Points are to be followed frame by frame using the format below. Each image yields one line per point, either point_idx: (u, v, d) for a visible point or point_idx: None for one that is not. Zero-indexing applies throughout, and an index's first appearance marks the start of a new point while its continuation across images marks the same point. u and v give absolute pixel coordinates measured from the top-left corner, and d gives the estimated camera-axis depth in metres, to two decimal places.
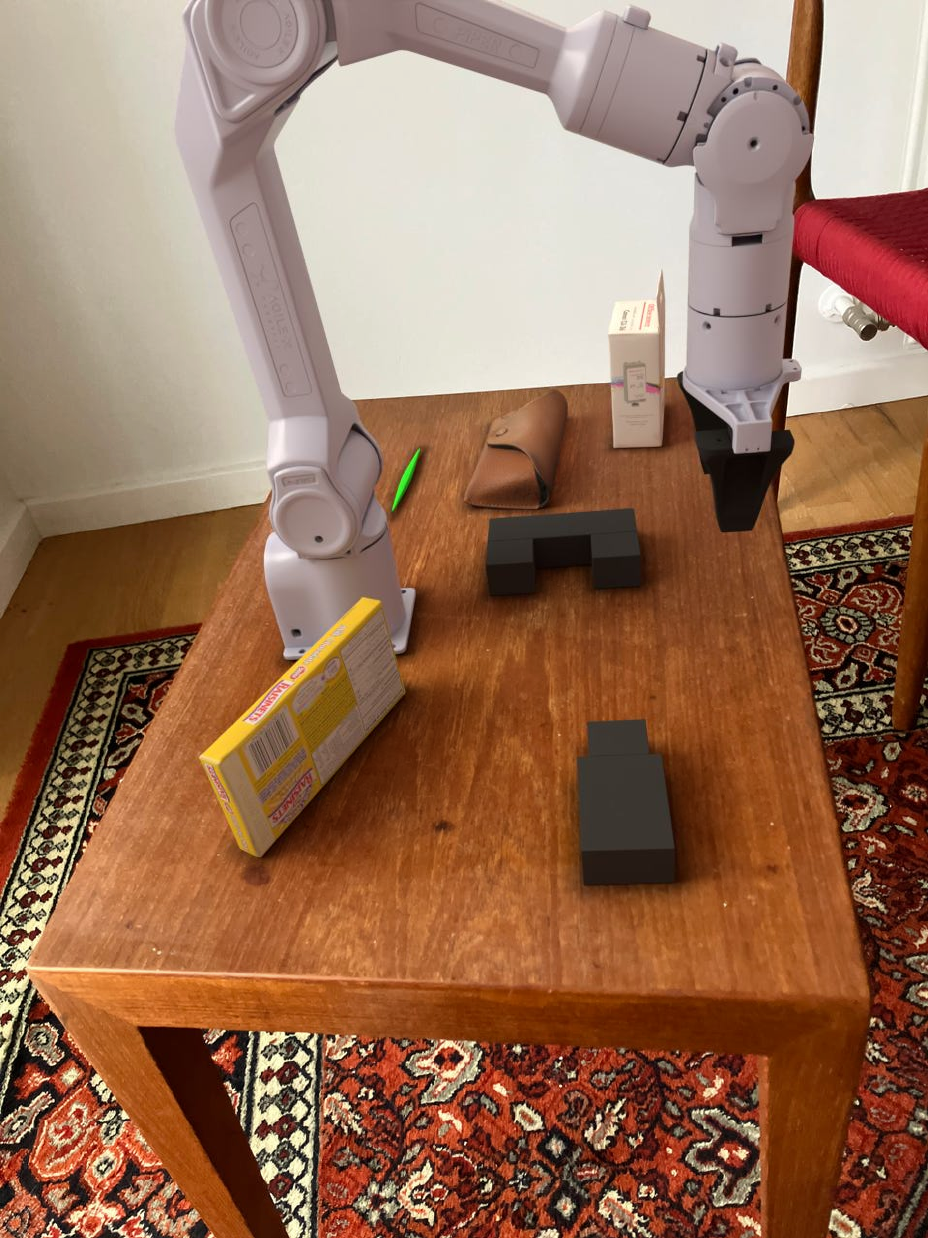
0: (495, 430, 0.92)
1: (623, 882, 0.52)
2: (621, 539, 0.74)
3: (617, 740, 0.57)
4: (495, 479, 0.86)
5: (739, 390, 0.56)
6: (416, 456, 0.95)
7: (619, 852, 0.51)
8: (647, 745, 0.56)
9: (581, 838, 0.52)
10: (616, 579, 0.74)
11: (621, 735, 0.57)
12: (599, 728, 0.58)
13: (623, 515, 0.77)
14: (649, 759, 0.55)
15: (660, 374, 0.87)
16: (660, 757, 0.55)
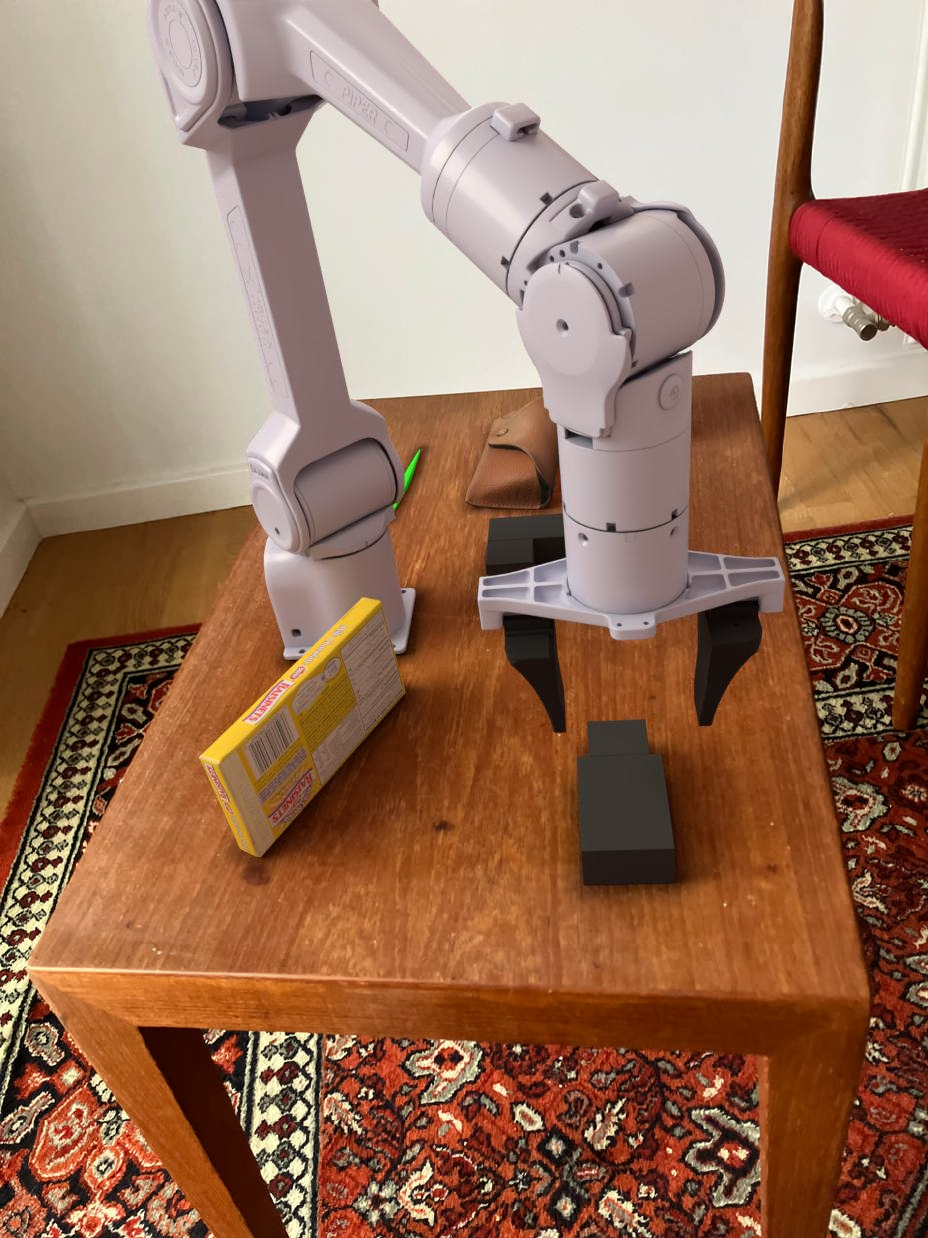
0: (496, 430, 0.92)
1: (623, 882, 0.52)
2: None
3: (617, 740, 0.57)
4: (496, 479, 0.86)
5: (565, 580, 0.46)
6: (416, 457, 0.95)
7: (619, 852, 0.51)
8: (647, 745, 0.56)
9: (581, 838, 0.52)
10: None
11: (621, 735, 0.57)
12: (599, 728, 0.58)
13: None
14: (649, 759, 0.55)
15: None
16: (660, 757, 0.55)
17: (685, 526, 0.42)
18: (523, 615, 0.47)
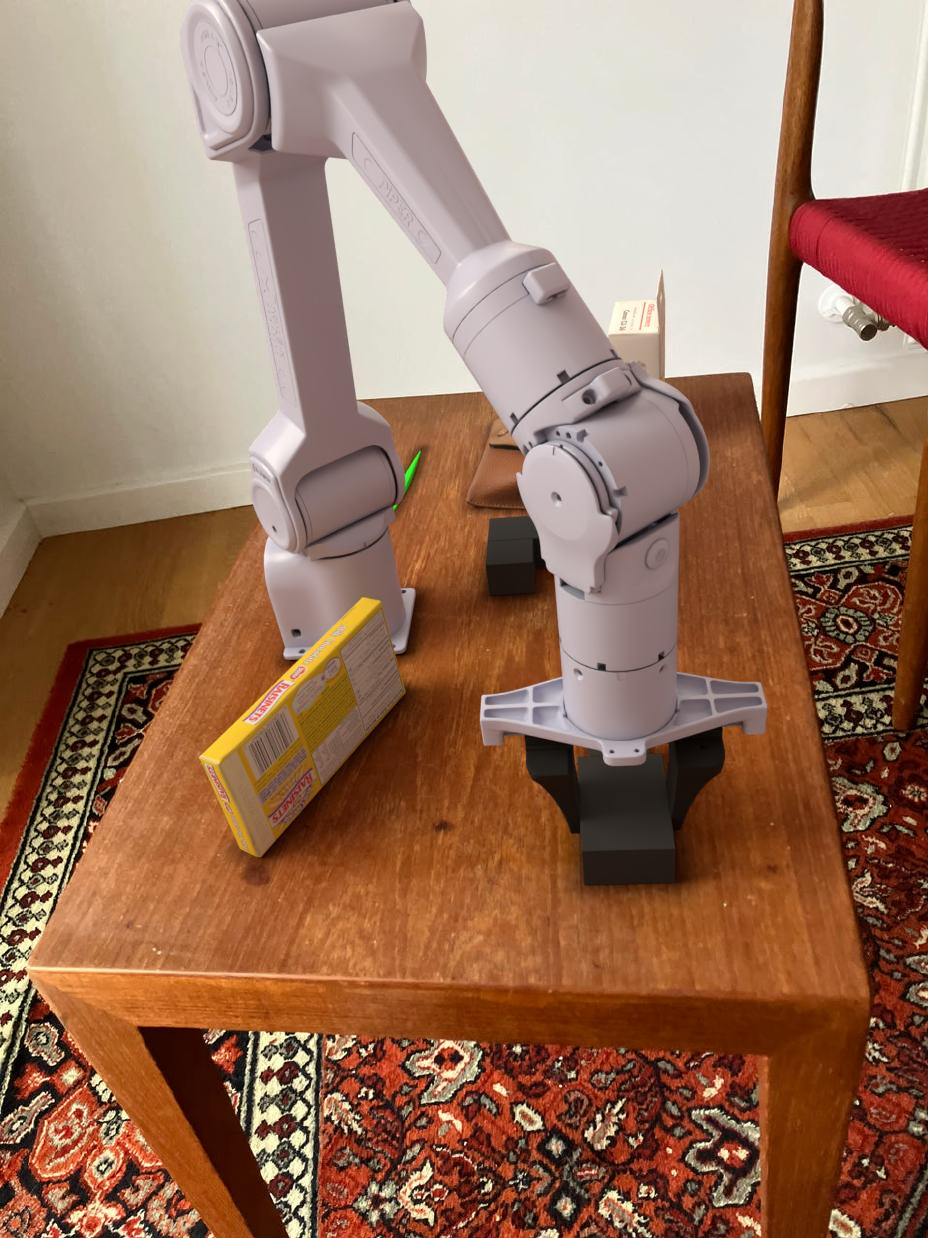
0: (496, 430, 0.92)
1: (624, 882, 0.52)
2: None
3: None
4: (497, 479, 0.86)
5: (562, 701, 0.49)
6: (416, 459, 0.96)
7: (620, 852, 0.51)
8: None
9: (582, 838, 0.52)
10: None
11: None
12: None
13: None
14: (650, 759, 0.55)
15: (660, 374, 0.87)
16: (661, 757, 0.55)
17: (673, 662, 0.45)
18: None
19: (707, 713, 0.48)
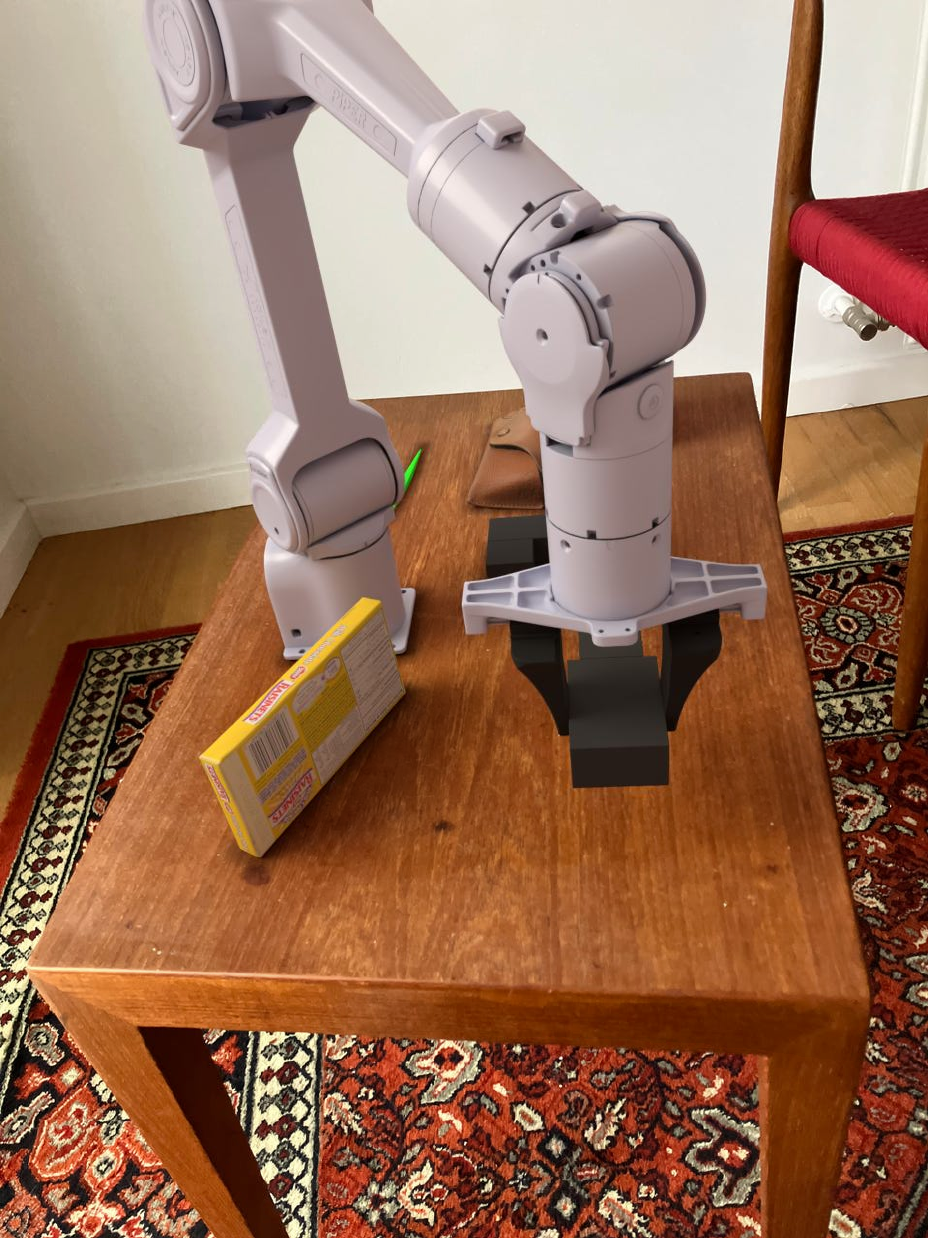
0: (497, 430, 0.92)
1: (615, 784, 0.49)
2: None
3: None
4: (498, 479, 0.86)
5: (549, 586, 0.46)
6: (417, 457, 0.95)
7: (610, 749, 0.48)
8: (641, 648, 0.54)
9: (570, 736, 0.49)
10: None
11: None
12: None
13: None
14: (643, 661, 0.53)
15: None
16: (655, 659, 0.53)
17: (667, 533, 0.42)
18: None
19: (703, 595, 0.45)
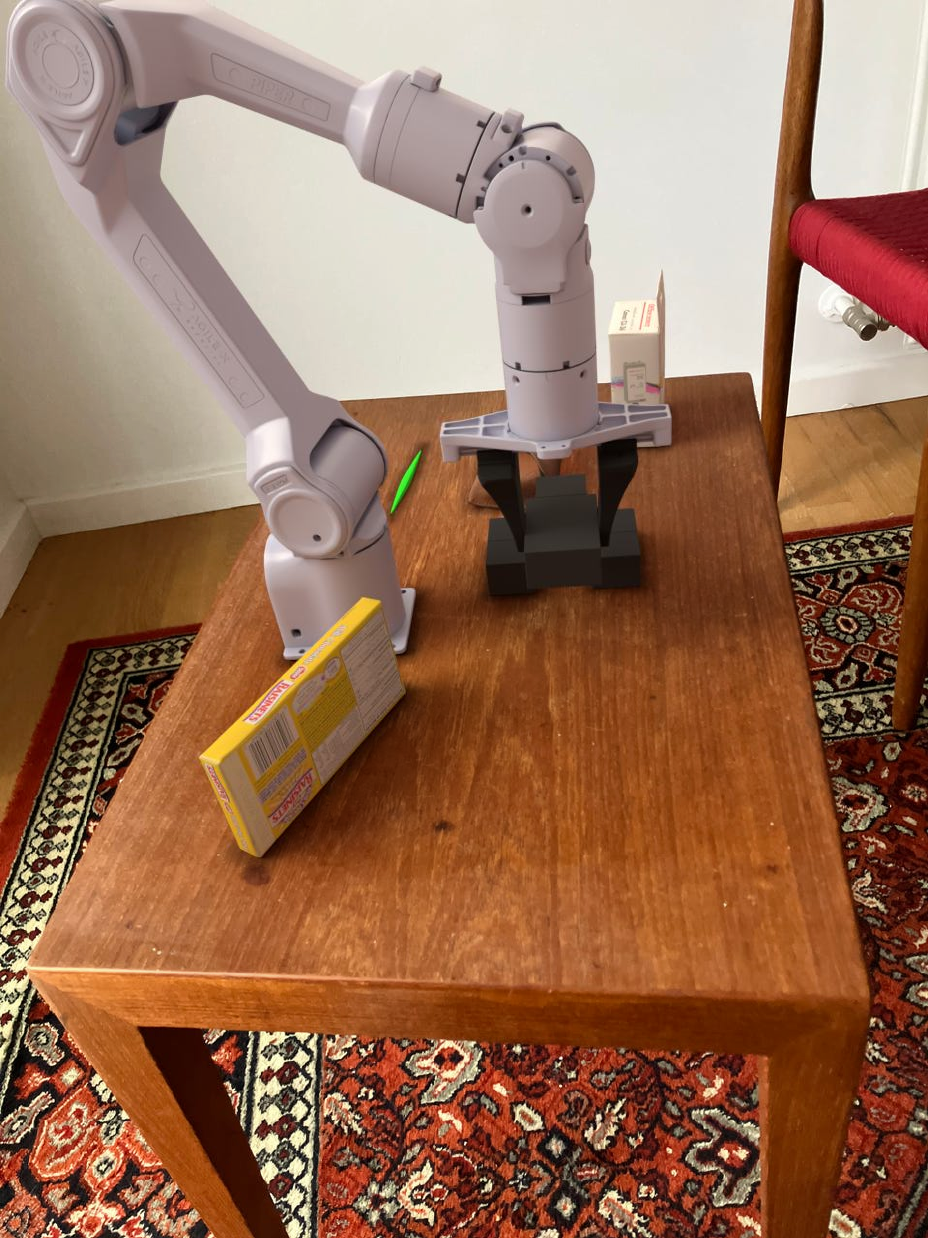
0: None
1: (560, 585, 0.63)
2: (621, 539, 0.74)
3: (559, 487, 0.68)
4: None
5: (506, 422, 0.60)
6: (417, 458, 0.96)
7: (555, 553, 0.62)
8: (585, 488, 0.67)
9: (525, 545, 0.63)
10: (616, 579, 0.74)
11: (564, 483, 0.68)
12: (546, 480, 0.69)
13: (623, 515, 0.77)
14: (585, 497, 0.66)
15: (660, 374, 0.87)
16: (594, 495, 0.66)
17: (592, 372, 0.56)
18: (492, 449, 0.61)
19: None
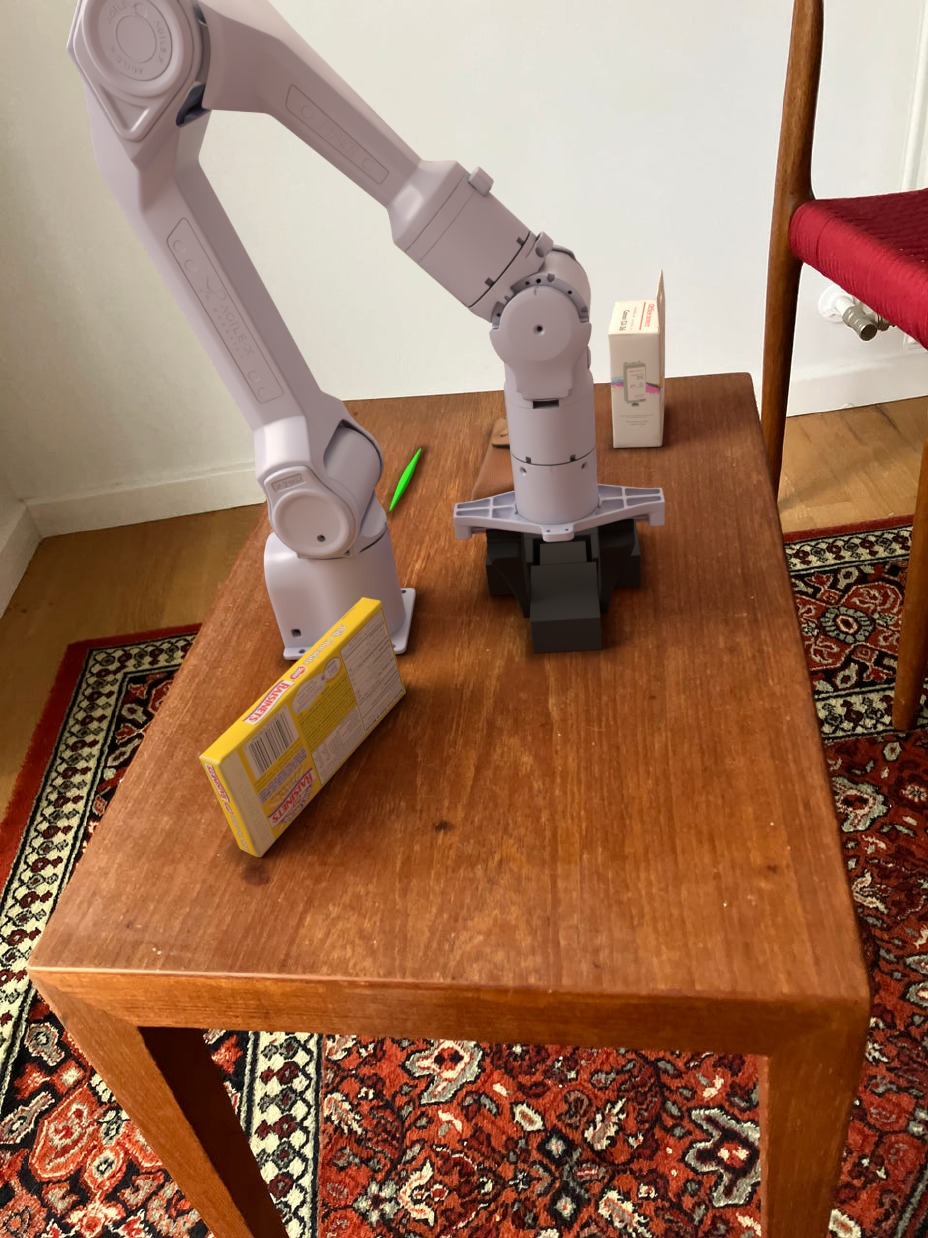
0: (499, 430, 0.92)
1: (563, 649, 0.69)
2: None
3: (562, 555, 0.74)
4: (501, 479, 0.86)
5: (514, 504, 0.66)
6: (417, 456, 0.95)
7: (559, 621, 0.67)
8: (585, 557, 0.73)
9: (531, 614, 0.68)
10: None
11: (566, 551, 0.74)
12: (549, 547, 0.75)
13: None
14: (586, 565, 0.72)
15: (660, 374, 0.87)
16: (594, 563, 0.72)
17: (593, 463, 0.62)
18: (500, 528, 0.66)
19: (621, 508, 0.64)
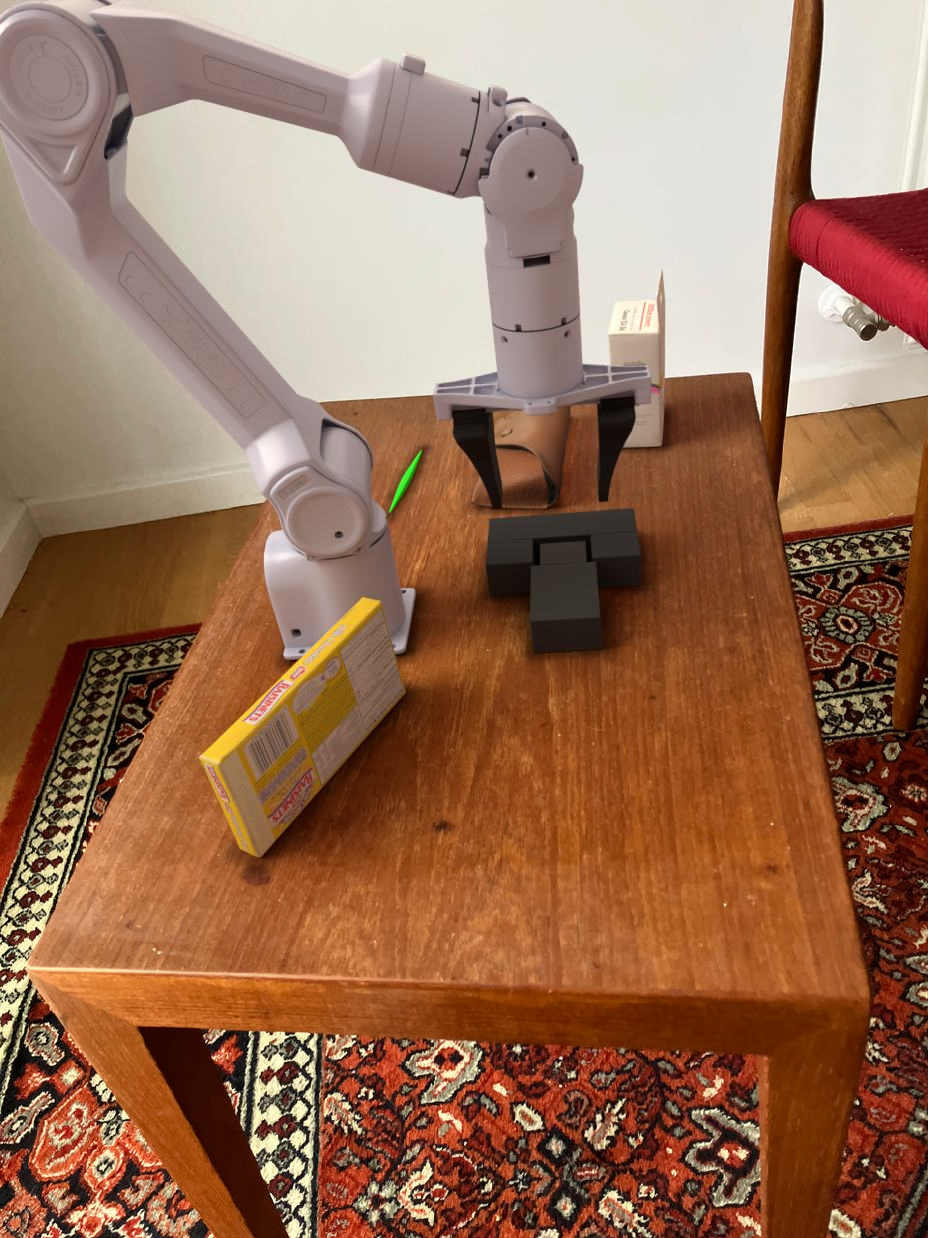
0: (500, 430, 0.92)
1: (563, 649, 0.69)
2: (621, 539, 0.74)
3: (562, 555, 0.74)
4: (502, 479, 0.86)
5: (496, 382, 0.64)
6: (417, 458, 0.95)
7: (559, 621, 0.67)
8: (585, 556, 0.73)
9: (531, 613, 0.68)
10: (616, 579, 0.74)
11: (566, 551, 0.74)
12: (549, 547, 0.75)
13: (623, 515, 0.77)
14: (586, 565, 0.72)
15: (660, 374, 0.87)
16: (594, 563, 0.72)
17: (576, 332, 0.60)
18: (467, 409, 0.65)
19: None
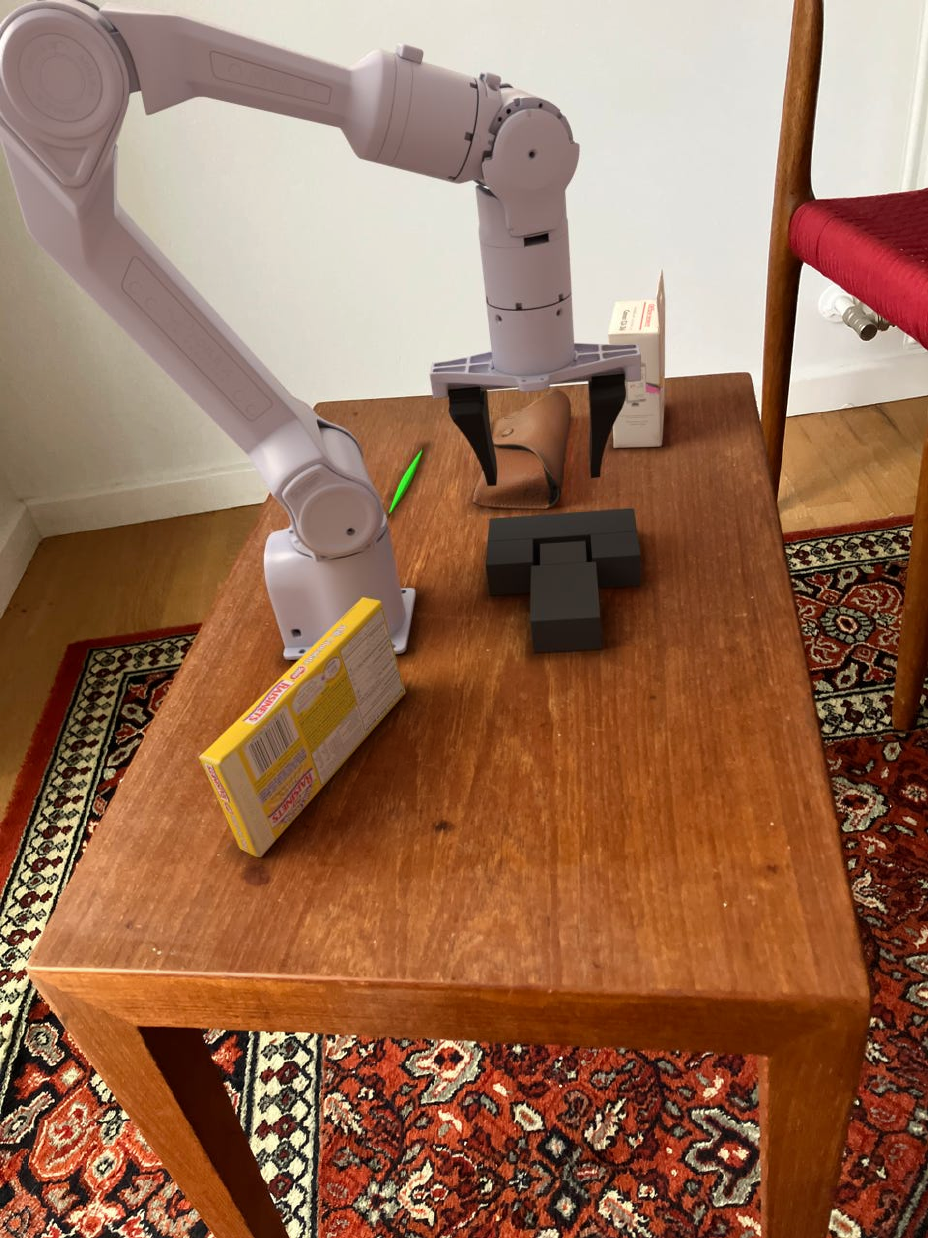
0: (500, 430, 0.92)
1: (563, 649, 0.69)
2: (621, 539, 0.74)
3: (562, 555, 0.74)
4: (504, 479, 0.86)
5: (491, 361, 0.66)
6: (417, 458, 0.95)
7: (559, 621, 0.67)
8: (585, 556, 0.73)
9: (531, 613, 0.68)
10: (616, 579, 0.74)
11: (566, 551, 0.74)
12: (549, 547, 0.75)
13: (623, 515, 0.77)
14: (586, 565, 0.72)
15: (660, 374, 0.87)
16: (594, 563, 0.72)
17: (568, 311, 0.62)
18: (462, 388, 0.67)
19: None
